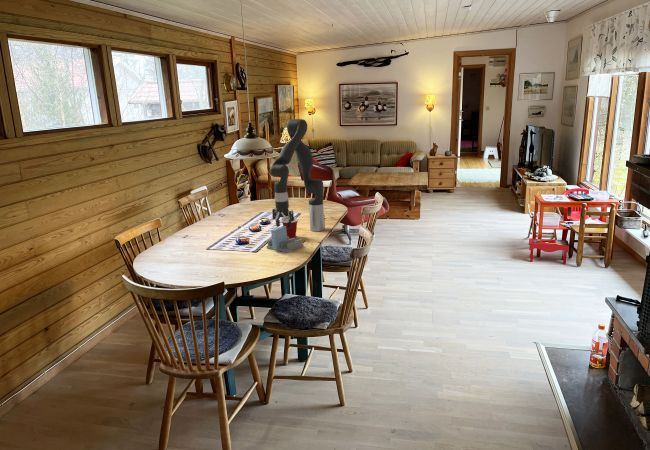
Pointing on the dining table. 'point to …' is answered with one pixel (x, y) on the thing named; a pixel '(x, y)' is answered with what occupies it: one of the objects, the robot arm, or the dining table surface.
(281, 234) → the rectangular block
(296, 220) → the plastic cup
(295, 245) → the dish rack
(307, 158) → the robot arm
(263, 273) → the dining table surface
